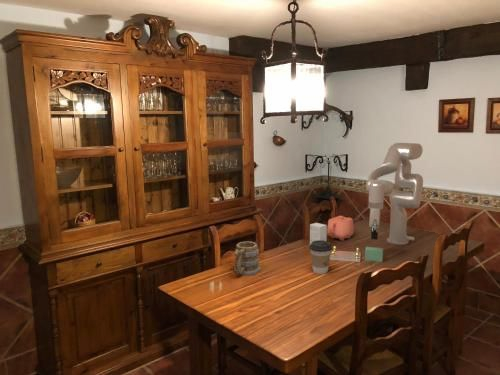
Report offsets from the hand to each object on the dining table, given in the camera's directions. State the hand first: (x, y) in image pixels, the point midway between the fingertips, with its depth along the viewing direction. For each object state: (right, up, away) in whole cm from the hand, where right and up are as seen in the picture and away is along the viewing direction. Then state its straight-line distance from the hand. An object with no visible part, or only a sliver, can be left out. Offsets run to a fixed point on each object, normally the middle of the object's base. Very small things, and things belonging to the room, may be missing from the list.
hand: (374, 236), depth 225 cm
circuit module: (+1, -13, +3) cm, 13 cm away
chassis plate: (-14, -12, +7) cm, 20 cm away
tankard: (-70, -17, -13) cm, 73 cm away
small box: (-26, -9, +27) cm, 38 cm away
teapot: (-9, -6, +41) cm, 43 cm away
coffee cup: (-31, -16, -13) cm, 37 cm away
